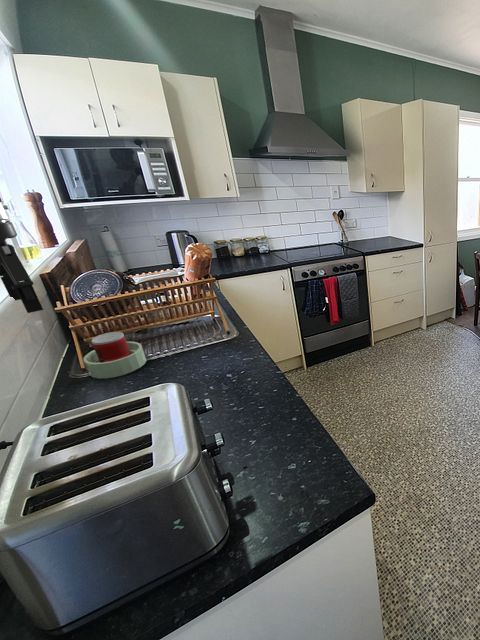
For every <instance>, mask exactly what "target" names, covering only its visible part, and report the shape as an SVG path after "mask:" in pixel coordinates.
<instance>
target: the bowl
mask: <svg viewBox="0 0 480 640" xmlns="http://www.w3.org/2000/svg"><path fill="white" fill-rule="evenodd" d="M126 342H127V344H128V347H129V350H130V353H131V355H129V356H127V357H124V358H121V359H118V360H114V361H110V362H103V363H100V361H99V359H98V356H97V354H96V352H95V349H93V350H91V351H90V352H88V353H86V355H85V356H83V361H82V362H84V365H85V368H86V370H87V372H88V374H89V376H90V377H91V378H93V379H102V380H103V379H113V378H118V377H121V376H125V375H127V374H130V373H132V372H135V371H136V370H138V369H140V368H141V367H143V366H144V365H145V364H146V363H147V357H146V354H145V351H144V349H143V345H142V344H141V343H139V342H137V341H126Z"/></svg>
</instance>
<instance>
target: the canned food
mask: <svg viewBox="0 0 480 640" xmlns="http://www.w3.org/2000/svg"><path fill="white" fill-rule="evenodd" d="M125 336H126V335H125V334H124V333H123V332H121V331H110V332H105V333H102V334H99V335H97V336H94V337H93V338H92V339H91V344H92V347H93V350H95V352H96V354H97V356H98V359H99V361H100V363H103V362H110V361H114V360H118V359H121V358H124V357H127V356H129V355H131V353H130V350H129V347H128V344H127V342H128V341H127V339H126V337H125Z"/></svg>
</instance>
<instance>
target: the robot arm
mask: <svg viewBox="0 0 480 640" xmlns="http://www.w3.org/2000/svg"><path fill="white" fill-rule="evenodd" d="M9 209H10V207H9V206H8V205H6V204H4V202H3V200H2V198H1V197H0V280H1V282H2V284H3V286H4V288H5V290H6V292H7V294H8V296H9V298H10V297H13V298H14V299H15V301H20V300H21V302H22V304H23V307H24V309H25V311H26V313H27V314H30V313H36V312H39V311H44V308H43V305H42V304H41V301H40V300H39V296H38V295H37V293H36V290H35V288H34V287H33V285H34V281H33V280H32V279H31V277H30V275H29V274H28V271H27V270H26V268H25V266H24V265H23V262H22V261H21V260H20V258H19V256H18V254H17V252H16V250H15V247H14V246H13V244H10V243H8V242H7V239H14V238H16V237H17V236H18V233H17V231H16V229H15V226H14V224H13V222H12V221H10V220H8V219H9V218H10V216H9V213H8V212H7V210H9ZM15 301H14V302H15Z"/></svg>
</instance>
